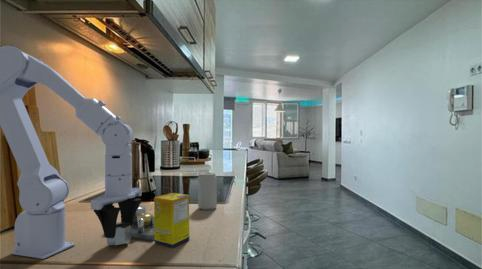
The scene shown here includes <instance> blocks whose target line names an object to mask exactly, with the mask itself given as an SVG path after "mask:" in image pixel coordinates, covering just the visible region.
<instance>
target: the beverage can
mask: <svg viewBox="0 0 482 269" xmlns="http://www.w3.org/2000/svg"><path fill="white" fill-rule="evenodd" d="M217 178H218V177H217V175H216V172H207V171H206V172H199V173H198V177H197V206H198V208H199V209H200V210H202V211H203V210H204V211H209V210H210V211H211V210H214V209H215V208H216V207H217V206H218V202H217V201H218V195H217V193H218V190H217V189H218V188H217V183H218V181H217Z"/></svg>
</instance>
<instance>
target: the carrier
mask: <svg viewBox="0 0 482 269" xmlns="http://www.w3.org/2000/svg"><path fill="white" fill-rule="evenodd" d="M131 239H136V240H144V241H145V240H146V241H154V242H155V216H154V215H153V213H151V212H147V211H146V206H145V205H141V204H140V205H139V207H138V209H137V211H136V213H135V217H134V220H133V224H132V228H131Z"/></svg>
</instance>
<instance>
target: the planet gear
mask: <svg viewBox="0 0 482 269" xmlns="http://www.w3.org/2000/svg"><path fill="white" fill-rule="evenodd" d="M130 241H132V238H131V225H130V223H127V222H121V221H120V222H116V234H115V237H114V238H106V244H107V245H108V246H109V245H111V246H118V245H124V244H126V243H129V242H130Z"/></svg>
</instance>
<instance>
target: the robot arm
mask: <svg viewBox="0 0 482 269" xmlns="http://www.w3.org/2000/svg"><path fill="white" fill-rule="evenodd" d="M37 84H39V85H43V86H45V87H47V88H48V89H49V90H51V91H52V92H53V93H55V94H56V95H57V96H59V97H60V98H62V99H63V100H64V101H65V102H67V103H68V104H69V105H71V106H72V107H73V108H74V109H75V116H76V118H77V119H79V120H80V121H81V122H82V123H83V124H85V125H86V126H87V127H88V128H89V129H90V130H92V131H93V132H95V134H96V135H98V136H101V140H102V142H103V143H104V145H105V154H104V194H101V195H100V196H97V197H96V198H93V199H91V200H90V210H93V212H94V214H95V215H96V216H97V218H98V220H99V221H100V222H99V223H100V224H101V227H102V230H103V235H104V238H105V239H107V238H114V237H115V234H116V223H118V222H117V221H118V216H119V213H120V222H127V223H130V225H131V228H132V224H133V220H134V217H135V213H136V211H137V209H138V207H139V205H141V203H142V198H139V197H141V196H142V194H143V193H142V192H143V191H142V190H143V189H142V187H133V154H132V142H133V140H134V136H135V135H134V130H133V129H132V127H131V126H130V124H129V123H127V122H124V121H123V122H122V121H121V120H122V119H123V118H122V117H121V116H120V115H116V114H114V113H113V112H112V111H110V109H108V108H107V107H106V102H104V101H103V100H102V99H99V100H97V99H96V98H94V97H93V98H86V97H85V96H84V95H83V94H82V93H81V92H80V91H79V90H78V89H76V87H74V86H73V85H72V84H71V83H70V82H69V81H68V80H66V79H65V77H64V76H62V75H61V74H60V73H59V72H58V71H56V70H55V69H54V68H52V67H51V66H49V65H47V64H46V63H44V62H43V61H42V60H41V59H39V58H38V57H35V56H32V55H30V54H28V53H26V52H24V51H22V49H19V48H17V47H16V46H12V45H2V46H0V128H1V130H2V132H3V135H4V137H5V140H6V141H7V144H8V146H9V148H10V151H11V154H12V155H13V157H14V160H15V162H16V164H17V167H18V170H19V171H20V175H19V178H18V179H17V182H16V183H17V184H16V185H17V187H18V190H19V197H18V201H19V205H20V207H21V208H22V209H23V211H22V212H20V213H19V214H18V215H17V217H16V219H15V221H14V250H11V251H10V254H11V255H15V256H21V257H22V256H23V257H28V258H29V257H30V258H34V259H41V260H42V259H43V260H44V259H47V258H49V257H51V256H53V255H56V254H58V253H60V252H62V251H64V250H66V249H70V248H72V247H73V246H75V245H76V244H75V242H71V241H66V205H65V202H64V201H65V200H66V199H67V197H68V196H69V194H70V185H69V184H68V181H67V180H66V179H64V178H62V177H61V175H60V173H59V170H57V169H56V168H55V167H54V166H53V165H51V164H50V162H49V159H48V157H47V155H46V153H45V151H44V148H43V146H42V144H41V141H40V138H39V136H38V133H37V132H36V130H35V127H34V125H33V122H32V120H31V118H30V115H29V113H28V109H27V108H26V106H25V103H24V101H23V98H24V96H25V95H26V94H27V92H28V91H29V90H31V89H33V87H35V86H36V85H37ZM114 204H117V205H118V207H117V206H115V205H114Z"/></svg>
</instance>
